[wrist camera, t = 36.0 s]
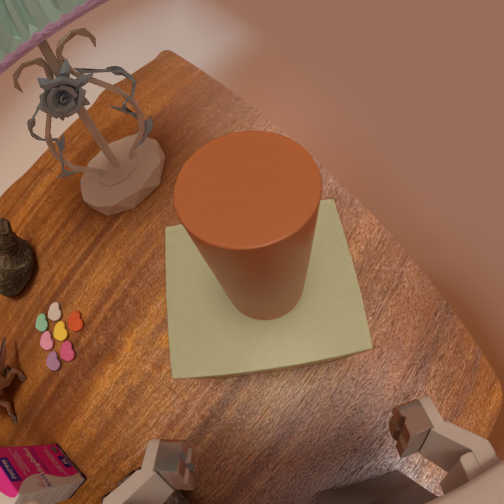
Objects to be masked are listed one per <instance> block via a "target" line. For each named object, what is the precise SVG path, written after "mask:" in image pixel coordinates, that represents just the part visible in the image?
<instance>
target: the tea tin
mask: <svg viewBox="0 0 504 504" xmlns="http://www.w3.org/2000/svg"><path fill="white" fill-rule="evenodd" d="M321 193H322V180H321V175H320V171H319V169H318V167H317V164H316V163H315V161H314V159H313V158H312V156H311V155H310V154H309V153H308V152H307V151H306V150H305V149H304V148H303V147H302V146H301V145H299V144H298V143H296V142H295V141H293V140H291V139H289V138H287V137H284V136H282V135H279V134H275V133H271V132H265V131H243V132H236V133H232V134H228V135H225V136H222V137H219V138H217V139H215V140H213V141H211V142H209V143H207V144H205V145H204V146H203V147H201V148H200V149H198V150H197V151H196V152H195V153H194V154H193V155H192V156H191V157H190V158H189V159H188V160H187V161H186V163H185V164H184V165H183V167H182V169H181V170H180V172H179V174H178V177H177V179H176V182H175V186H174V195H173V197H174V206H175V211H176V213H177V216H178V218H179V220H180V221H181V223H182V225H183V226H184V228H185V230H186V231H187V233H188V234H189V236H190V238H191V239H192V241H193V242H194V244H195V246H196V247H197V249H198V250H199V252H200V254H201V255H202V257H203V258H204V260H205V261H206V263H207V265H208V266H209V268H210V269H211V271H212V272H213V274H214V276H215V277H216V279H217V280H218V282H219V283H220V285H221V286H222V288H223V289H224V291H225V292H226V294H227V295H228V297H229V298H230V300H231V302H232V303H233V304H234V306H235V307H236V308H237V309H238V310H239V311H240V312H241V313H243V314H244V315H246V316H248V317H250V318H253V319H257V320H273V319H277V318H279V317H282V316H284V315H286V314H287V313H289V312H290V311H291V310H292V309H293V308H294V307H295V306H296V305H297V303H298V302H299V300H300V298H301V296H302V293H303V289H304V284H305V280H306V275H307V270H308V265H309V260H310V255H311V250H312V245H313V239H314V234H315V228H316V223H317V217H318V212H319V206H320V200H321Z"/></svg>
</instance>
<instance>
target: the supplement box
mask: <svg viewBox="0 0 504 504" xmlns="http://www.w3.org/2000/svg"><path fill="white" fill-rule="evenodd" d="M85 480H86V478H85V477H84V476H83V474H82V473H81V472H80V471H79V470H78V469H77V468H76V467H75V466H74V465H73V463H72V462H71V461H70V460H69V459H68V457H67V456H66V455H65V454H64V452H63V451H62V449H61V448H60V447H59V445H58V444H50V445H38V446H23V447H0V504H24V503H26V502H28V501H31V500H37V501H40V502H42V503H44V504H55V503H58V502H61V501H64V500H67V499H69V498H70V497H72V495H73V494H74V493H75V492H76V491H77V489H78V488H79V487H80V486H81V485H82V484H83V483H84V481H85Z"/></svg>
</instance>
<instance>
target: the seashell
mask: <svg viewBox="0 0 504 504" xmlns="http://www.w3.org/2000/svg"><path fill="white" fill-rule="evenodd" d="M33 265H34V263H33V253H32V249H31V246H29V244H28V242H27V241H25V240H23V239H21V238H20V237H18V236H17V235H16V234H15V233H14V232H13V231H12V228H11V225H10V221H8V220H6V219H4V218H0V293H1V294H2V295H4V296H7V297H8V296H13V295H16V294H18V293H19V292H21V291H22V290H23V288H24V287H25V285H26V284H27V283H28V281H29V279H30V277H31V274H32V271H33V270H32V269H33Z"/></svg>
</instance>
